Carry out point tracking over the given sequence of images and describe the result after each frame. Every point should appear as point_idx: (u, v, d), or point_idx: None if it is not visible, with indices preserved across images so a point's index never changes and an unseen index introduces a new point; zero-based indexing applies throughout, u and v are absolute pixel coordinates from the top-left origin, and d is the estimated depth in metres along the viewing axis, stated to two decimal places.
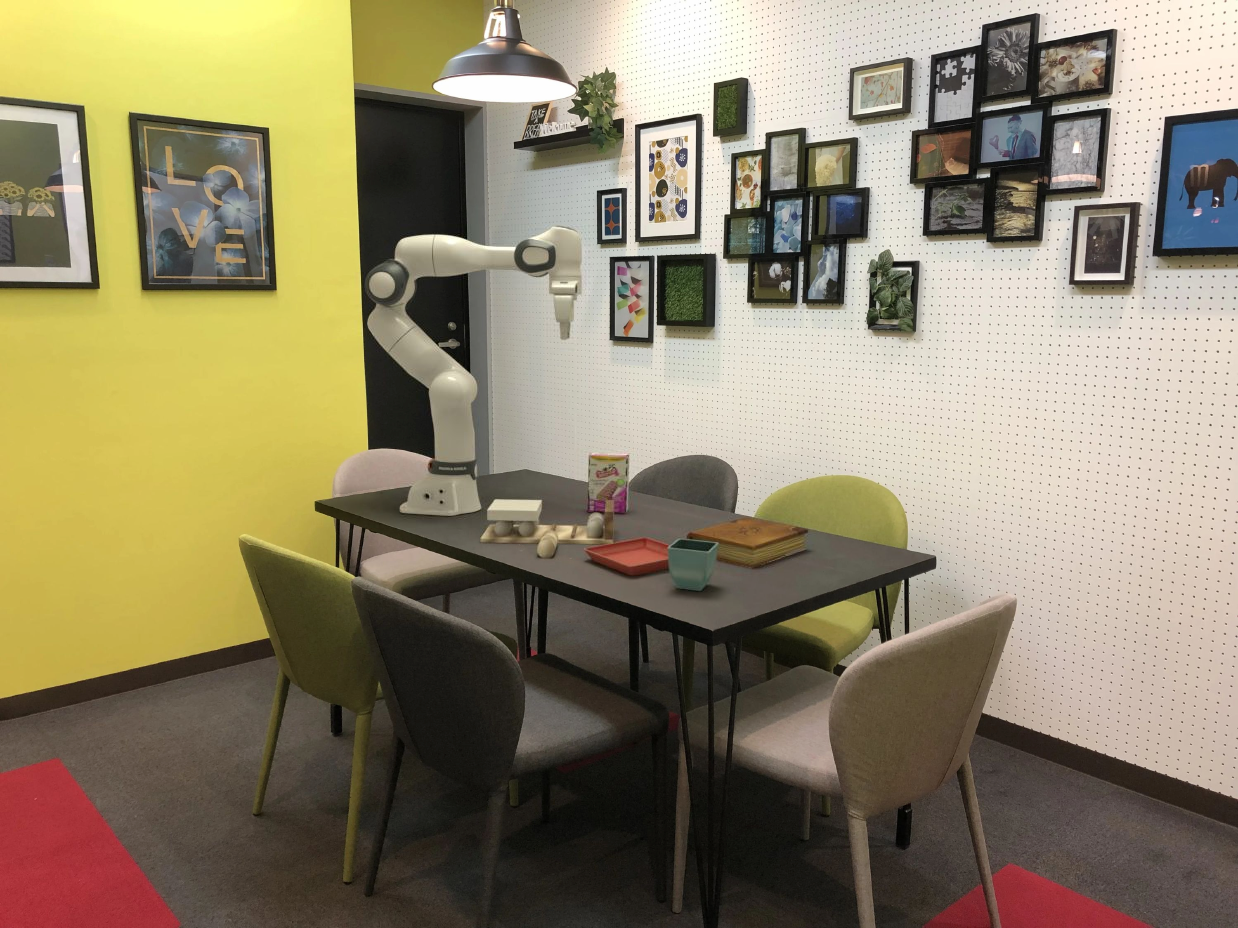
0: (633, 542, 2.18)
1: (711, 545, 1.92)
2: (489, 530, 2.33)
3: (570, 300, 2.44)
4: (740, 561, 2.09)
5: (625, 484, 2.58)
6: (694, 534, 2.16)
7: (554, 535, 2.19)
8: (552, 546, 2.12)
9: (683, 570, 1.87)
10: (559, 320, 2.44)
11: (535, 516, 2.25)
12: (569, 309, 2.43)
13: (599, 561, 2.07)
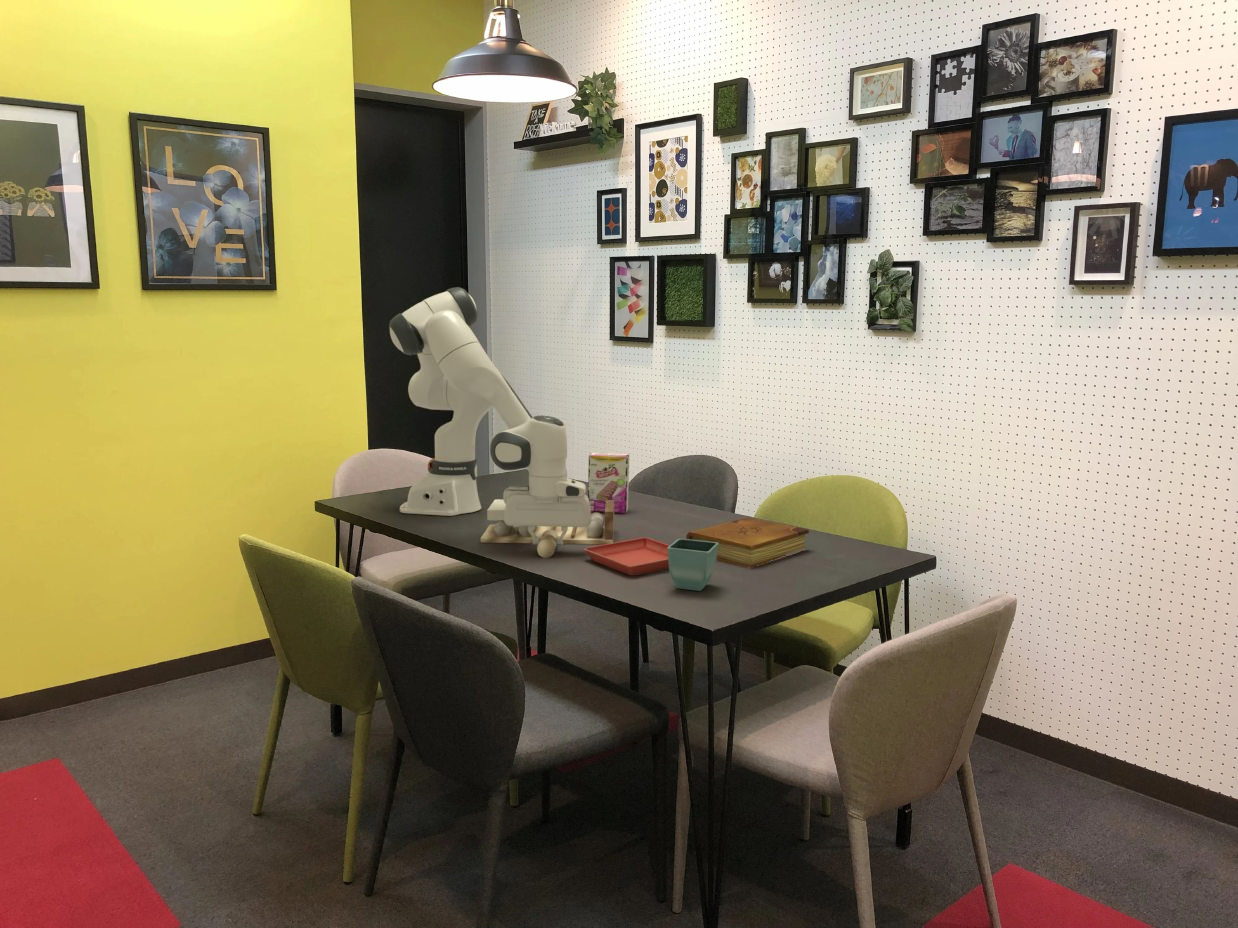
0: (633, 542, 2.18)
1: (711, 545, 1.92)
2: (489, 530, 2.33)
3: None
4: (739, 561, 2.09)
5: (625, 484, 2.58)
6: (694, 534, 2.16)
7: (554, 534, 2.19)
8: (552, 545, 2.12)
9: (683, 570, 1.87)
10: (589, 524, 2.16)
11: None
12: None
13: (599, 561, 2.07)
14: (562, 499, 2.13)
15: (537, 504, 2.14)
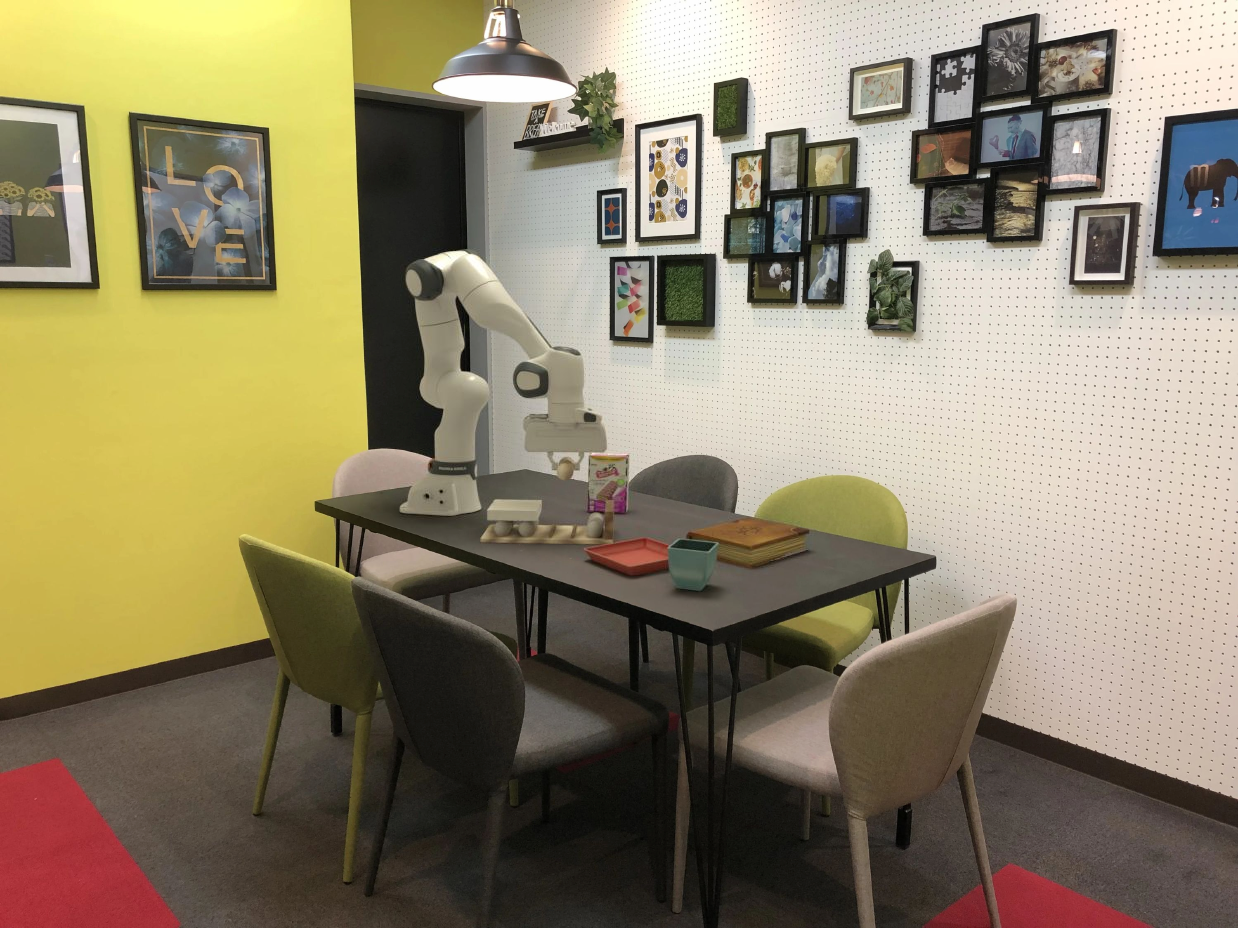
0: (633, 542, 2.18)
1: (711, 545, 1.92)
2: (489, 530, 2.33)
3: None
4: (738, 561, 2.09)
5: (625, 484, 2.58)
6: (693, 533, 2.16)
7: (571, 460, 2.31)
8: (571, 468, 2.23)
9: (683, 570, 1.87)
10: (605, 450, 2.27)
11: (535, 516, 2.25)
12: None
13: (599, 561, 2.07)
14: (580, 425, 2.24)
15: (556, 431, 2.25)
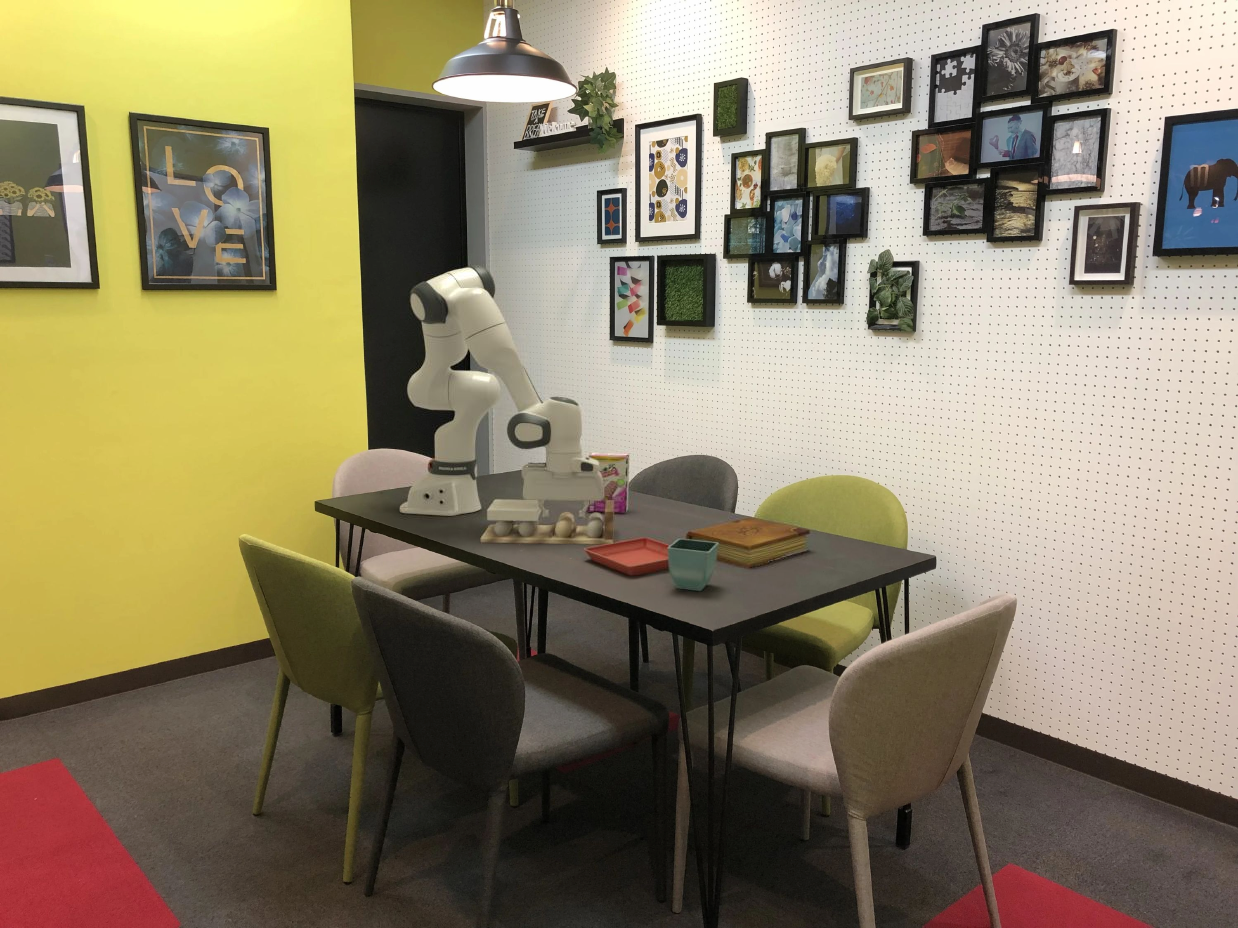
0: (633, 542, 2.18)
1: (711, 545, 1.92)
2: (489, 530, 2.33)
3: None
4: (737, 561, 2.09)
5: (625, 484, 2.58)
6: (693, 533, 2.17)
7: (572, 518, 2.34)
8: (569, 528, 2.27)
9: (683, 570, 1.87)
10: (602, 498, 2.30)
11: (535, 516, 2.25)
12: None
13: (599, 561, 2.07)
14: (577, 474, 2.27)
15: (553, 479, 2.29)
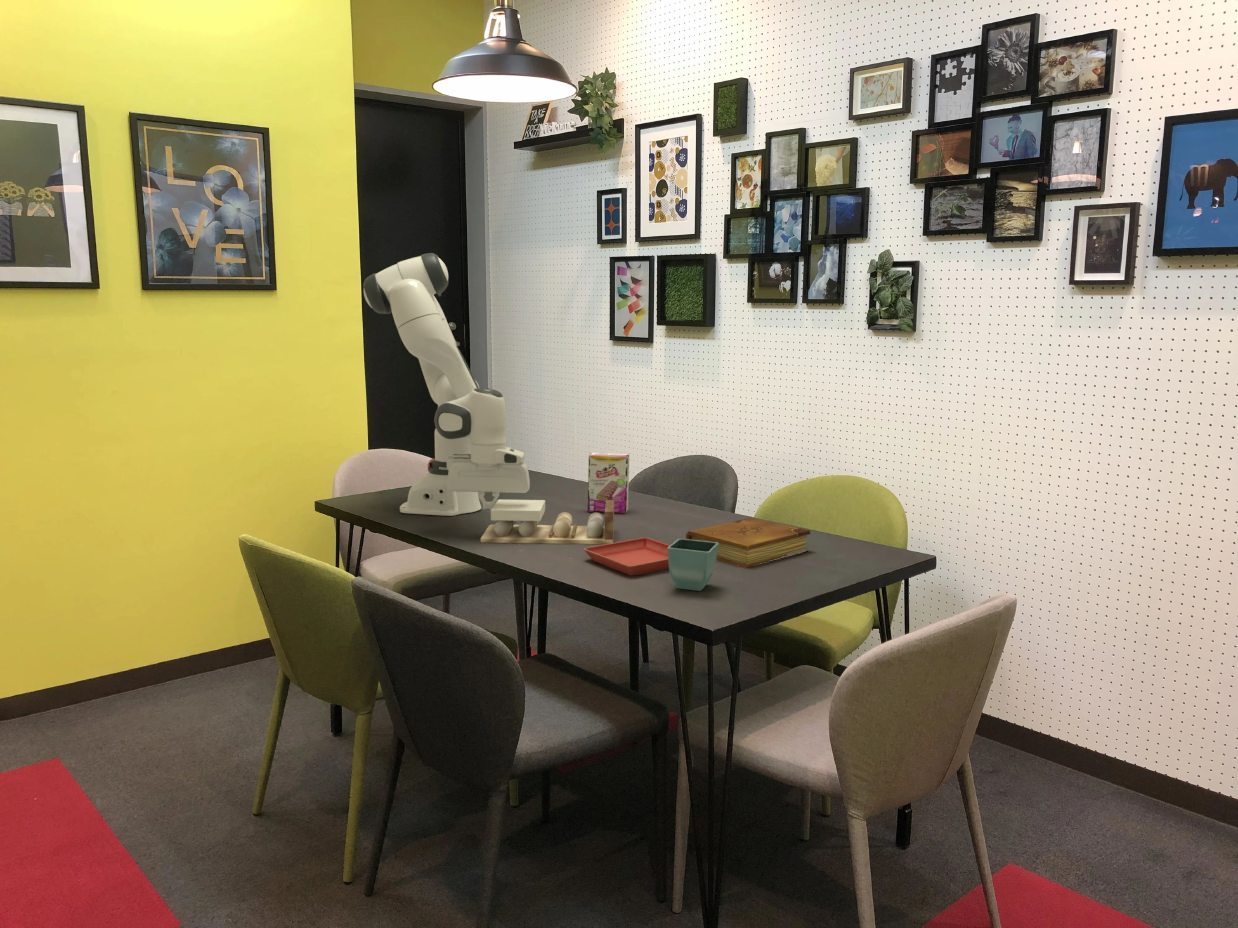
0: (633, 542, 2.18)
1: (711, 545, 1.92)
2: (489, 530, 2.33)
3: (527, 467, 2.32)
4: (735, 561, 2.09)
5: (625, 484, 2.58)
6: (693, 533, 2.17)
7: (568, 516, 2.34)
8: (567, 526, 2.27)
9: (683, 570, 1.87)
10: (527, 490, 2.30)
11: (539, 516, 2.25)
12: None
13: (599, 561, 2.07)
14: (501, 466, 2.27)
15: (478, 471, 2.28)
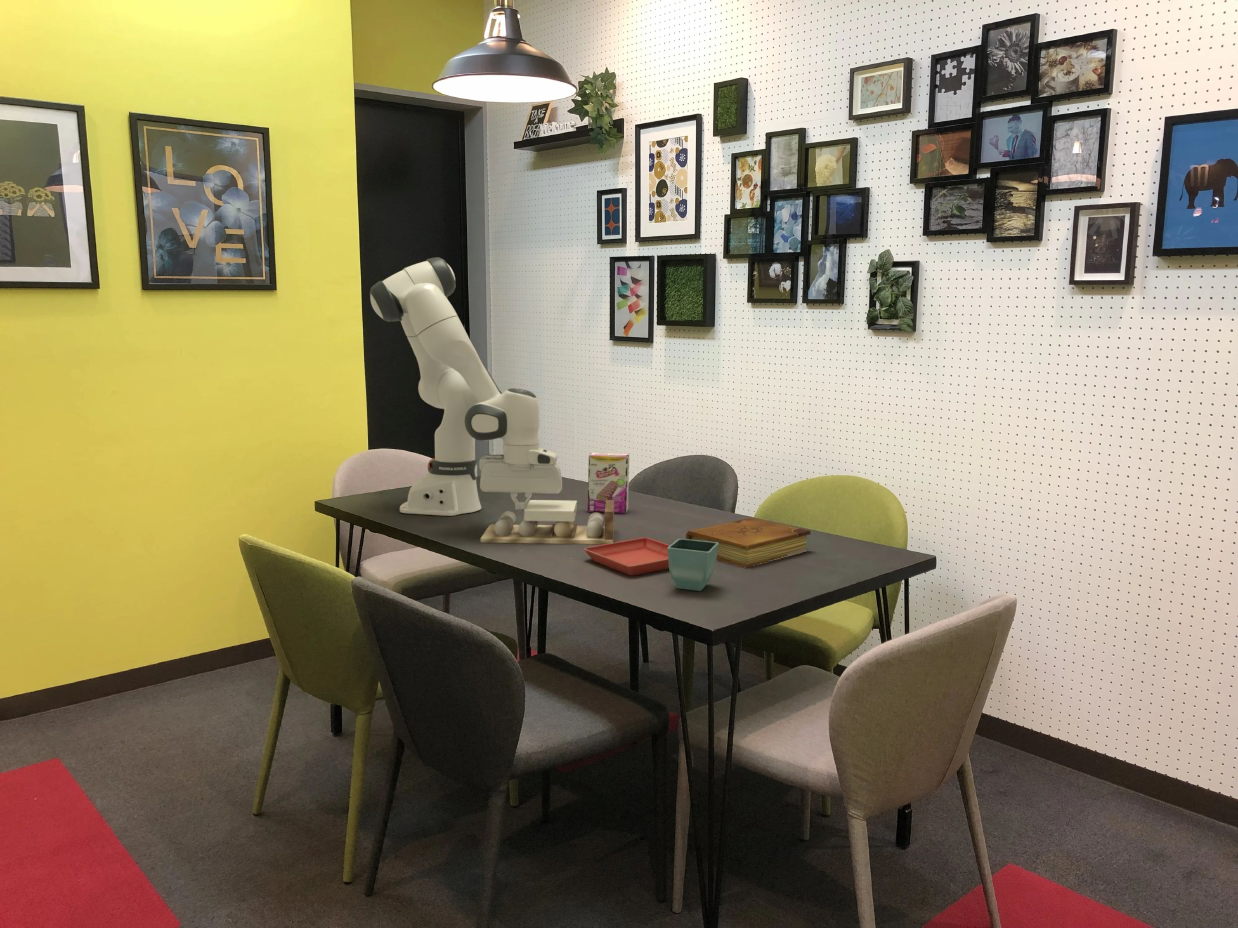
0: (633, 542, 2.18)
1: (711, 545, 1.92)
2: (489, 530, 2.33)
3: None
4: (735, 560, 2.09)
5: (625, 484, 2.58)
6: (693, 533, 2.17)
7: None
8: (568, 527, 2.27)
9: (683, 570, 1.87)
10: None
11: (572, 517, 2.25)
12: None
13: (599, 561, 2.07)
14: (534, 467, 2.27)
15: (511, 471, 2.28)
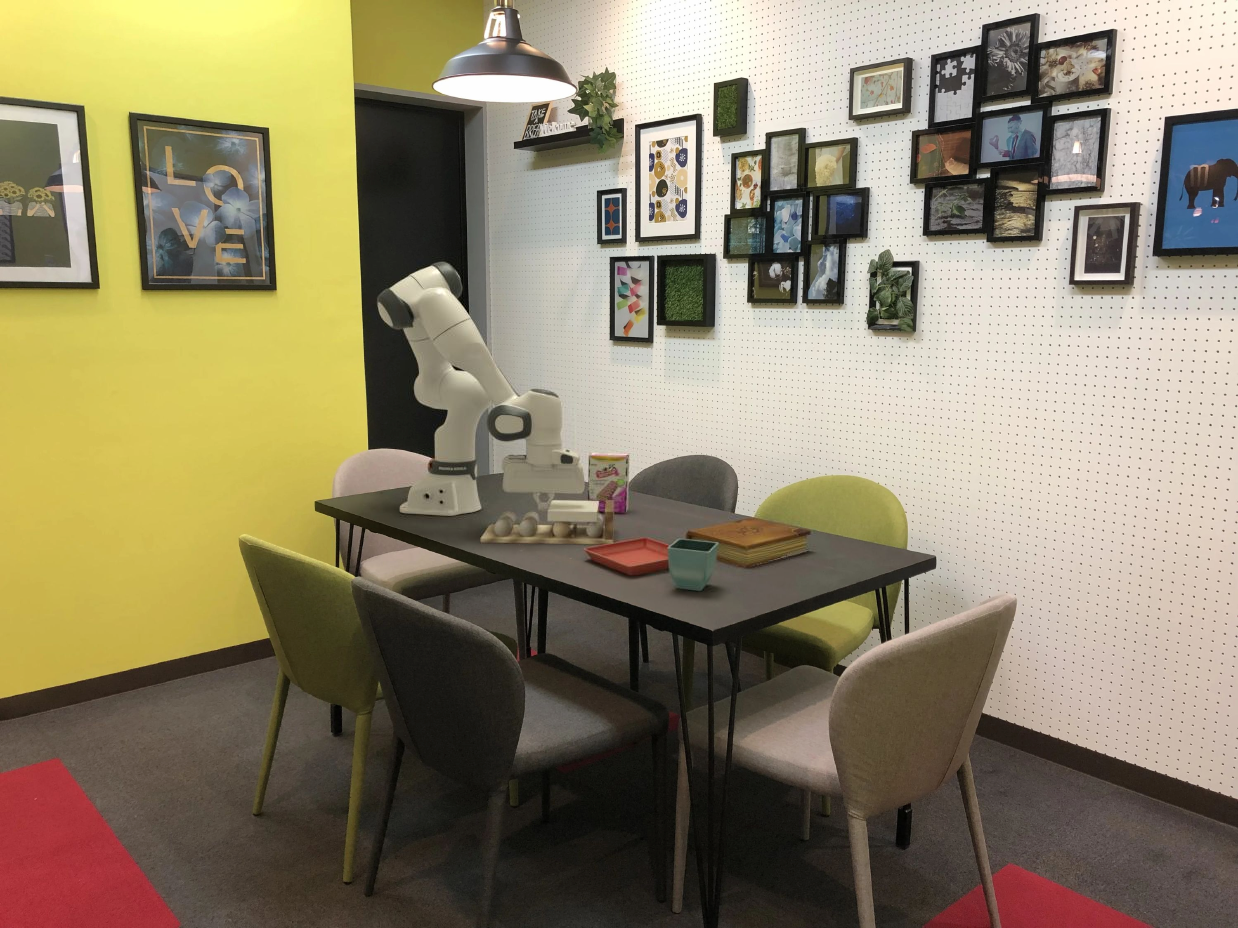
0: (633, 542, 2.18)
1: (711, 545, 1.92)
2: (489, 530, 2.33)
3: None
4: (735, 561, 2.09)
5: (625, 484, 2.58)
6: (692, 533, 2.17)
7: None
8: (566, 526, 2.27)
9: (683, 570, 1.87)
10: (582, 491, 2.30)
11: (595, 517, 2.25)
12: None
13: (599, 561, 2.07)
14: (557, 467, 2.27)
15: (533, 472, 2.28)
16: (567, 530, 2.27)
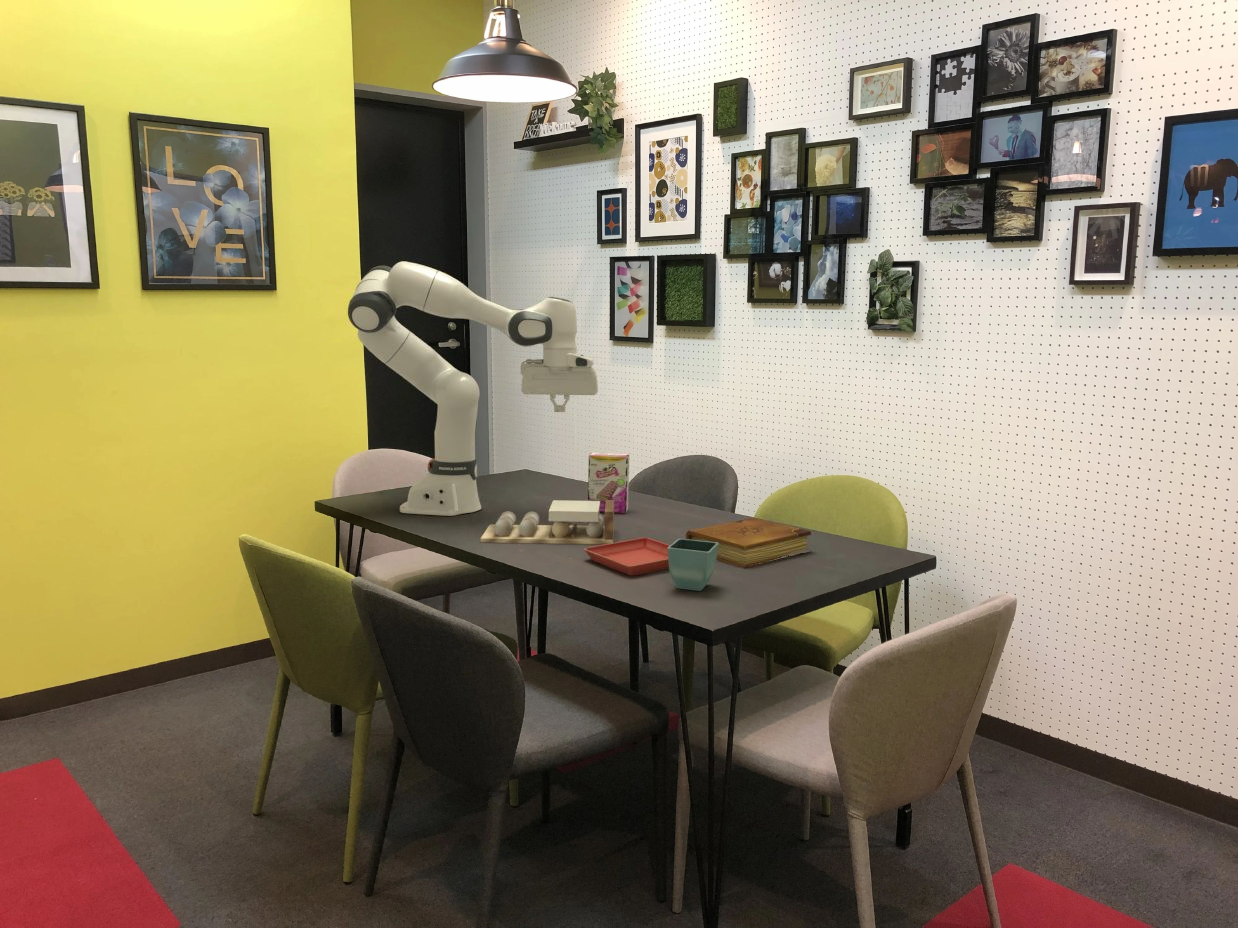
0: (633, 542, 2.18)
1: (711, 545, 1.92)
2: (489, 530, 2.33)
3: None
4: (734, 560, 2.09)
5: (625, 484, 2.58)
6: (692, 532, 2.17)
7: None
8: (565, 525, 2.26)
9: (683, 570, 1.87)
10: None
11: (597, 517, 2.25)
12: None
13: (599, 561, 2.07)
14: (572, 369, 2.43)
15: (550, 375, 2.45)
16: (566, 529, 2.27)
